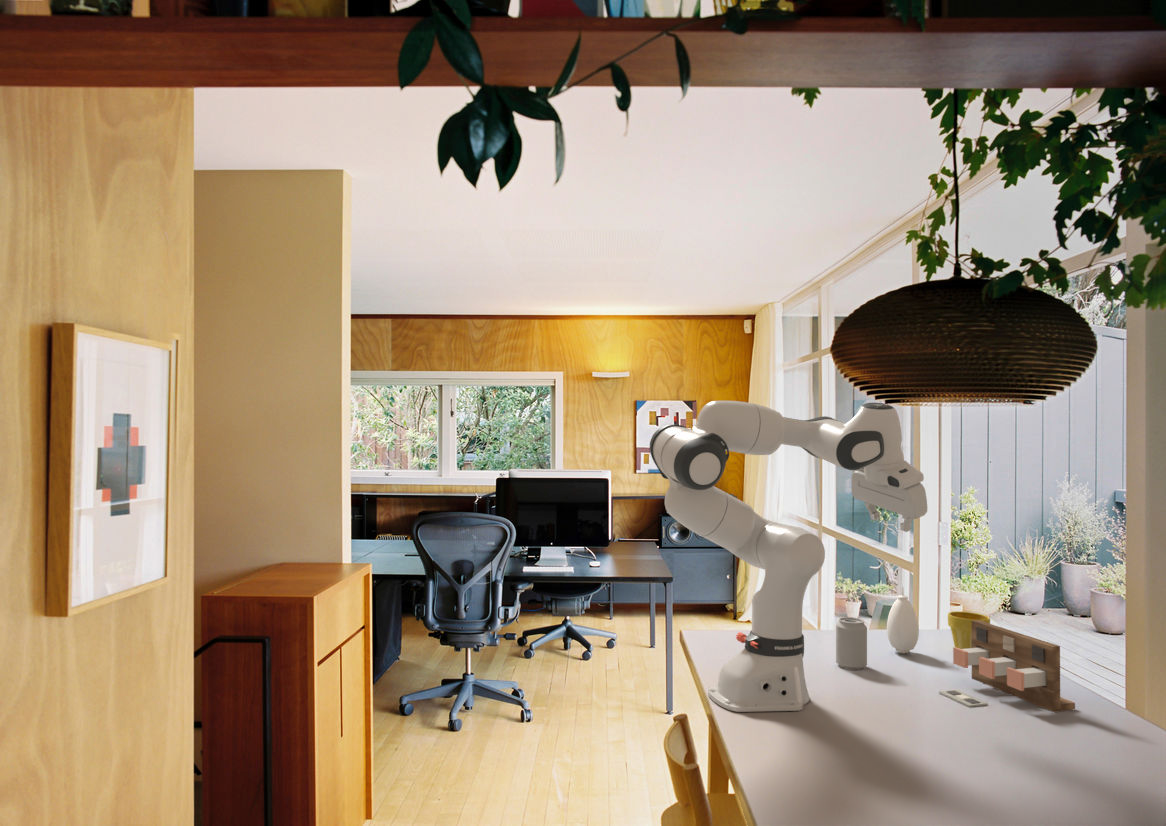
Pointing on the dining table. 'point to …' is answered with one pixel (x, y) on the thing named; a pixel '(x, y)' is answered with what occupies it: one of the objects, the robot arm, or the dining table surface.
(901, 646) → the cream tall ovoid
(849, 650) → the can
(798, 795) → the dining table surface
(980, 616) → the plant pot
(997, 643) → the console
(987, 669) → the button middle
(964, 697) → the card
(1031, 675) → the button near
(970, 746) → the dining table surface
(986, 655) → the button far
